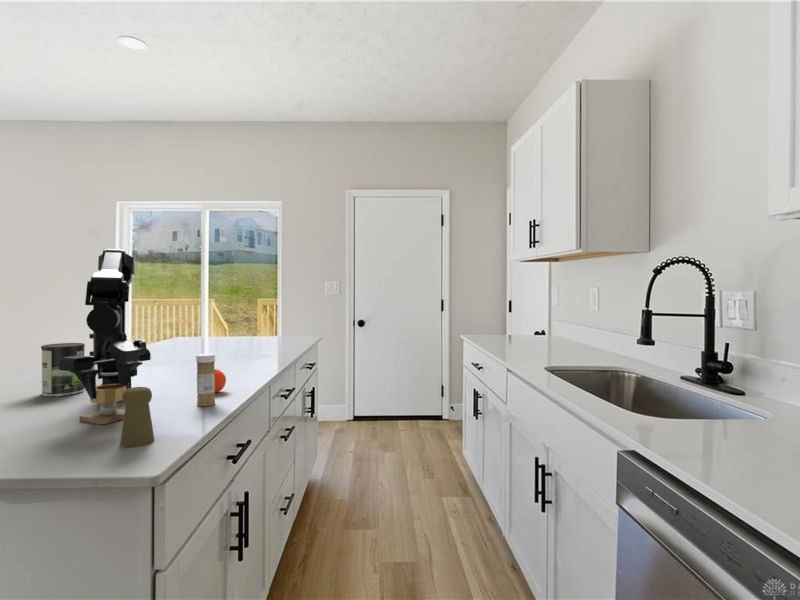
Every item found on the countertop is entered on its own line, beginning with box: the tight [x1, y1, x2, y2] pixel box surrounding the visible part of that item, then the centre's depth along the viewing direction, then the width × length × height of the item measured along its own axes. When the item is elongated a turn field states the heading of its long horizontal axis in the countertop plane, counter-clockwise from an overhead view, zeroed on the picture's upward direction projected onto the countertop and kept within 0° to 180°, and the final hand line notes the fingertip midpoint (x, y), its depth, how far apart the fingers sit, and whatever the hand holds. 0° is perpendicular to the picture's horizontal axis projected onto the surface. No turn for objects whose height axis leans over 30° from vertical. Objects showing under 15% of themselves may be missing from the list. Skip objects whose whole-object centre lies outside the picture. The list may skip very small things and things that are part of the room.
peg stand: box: [79, 402, 125, 425], centre depth 109 cm, size 8×8×5 cm
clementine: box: [214, 368, 227, 394], centre depth 137 cm, size 8×7×7 cm
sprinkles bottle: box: [195, 353, 216, 407], centre depth 122 cm, size 5×5×14 cm
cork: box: [119, 386, 155, 448], centre depth 92 cm, size 6×6×11 cm
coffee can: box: [40, 342, 86, 397], centre depth 134 cm, size 10×10×14 cm
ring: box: [89, 384, 126, 404], centre depth 109 cm, size 7×7×3 cm
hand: (108, 395), depth 109 cm, fingers closed on ring, 7 cm apart
